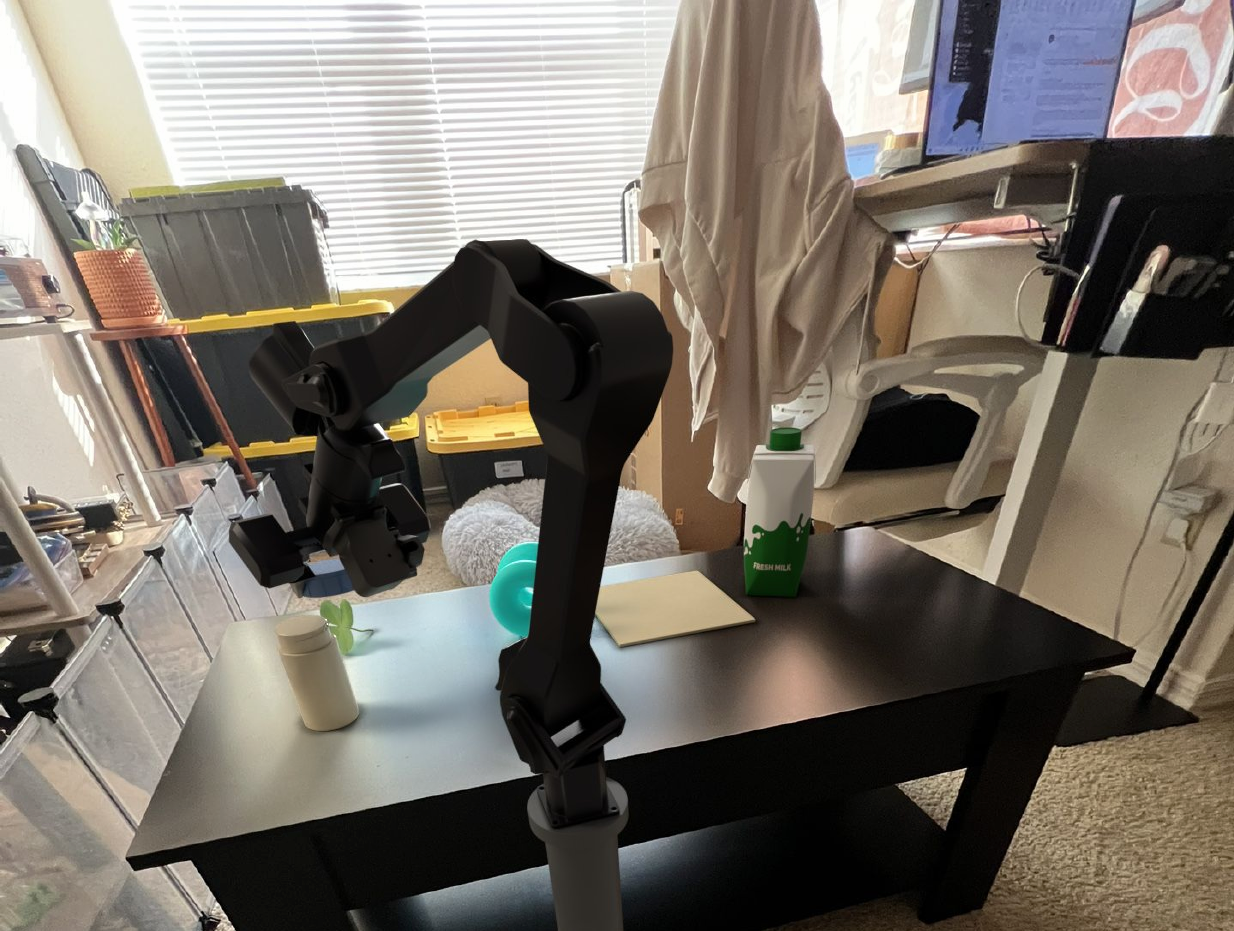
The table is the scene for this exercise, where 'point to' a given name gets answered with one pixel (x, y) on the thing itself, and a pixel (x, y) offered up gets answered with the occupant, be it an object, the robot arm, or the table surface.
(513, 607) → the turquoise spool
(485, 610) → the table surface
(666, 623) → the placemat
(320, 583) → the lid
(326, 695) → the jar
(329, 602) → the green clover
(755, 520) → the milk carton
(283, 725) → the table surface
